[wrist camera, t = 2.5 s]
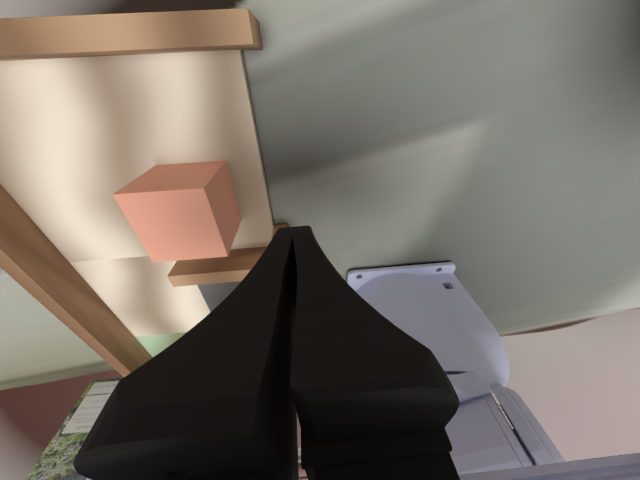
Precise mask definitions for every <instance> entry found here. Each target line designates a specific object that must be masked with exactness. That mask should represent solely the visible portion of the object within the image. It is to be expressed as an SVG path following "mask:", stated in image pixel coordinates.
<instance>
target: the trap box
mask: <svg viewBox="0 0 640 480" xmlns="http://www.w3.org/2000/svg"><path fill="white" fill-rule="evenodd" d="M262 49H263V48H262V41H261V34H260V27H259V21H258V20H257V19H256V18H255V17H254V15H253V14H252V13H251V12H250V10H249V9H248V8H242V9H218V10H195V11H170V12H149V13H148V12H147V13H124V14H98V15H74V16H51V17H27V18H5V19H4V18H3V19H0V267H1V268H2V269H3V270H4V271H5V272H6V273H8V274H9V275H10V276H11V277H12V278H13V279H14V280H15V281H17V282H18V283H19V284H20V285H21V286H22V287H23V288H24V289H26V290H27V291H28V292H29V293H30V294H31V295H32V296H33V297H35V298H36V299H37V300H38V301H39V302H40V303H41V304H42V305H43V306H45V307H46V308H47V309H48V310H49V311H50V312H51V313H52V314H54V315H55V316H56V317H57V318H58V319H59V320H60V321H61V322H63V323H64V324H65V325H66V326H67V327H68V328H69V329H70V330H72V331H73V332H74V333H75V334H76V335H77V336H78V337H79V338H81V339H82V340H83V341H84V342H85V343H86V344H87V345H88V346H90V347H91V348H92V349H93V350H94V351H95V352H96V353H97V354H98V355H100V356H101V357H102V358H103V359H104V360H105V361H106V362H107V363H109V364H110V365H111V366H112V367H113V368H114V369H115V370H116V371H118V372H119V373H120V374H121V375H122V376H123V377H126V376H127V375H129V374H130V373H132V372H133V371H134V370H136V369H137V368H139V367H140V366H142V365H143V364H144V363H146V362H147V361H149V360H150V359H152V358H153V357H154V356H156V355H157V354H159V353H160V352H162V351H163V350H164V349H166V348H167V347H168V346H170V345H171V344H173V343H174V342H175V341H176V340H178V339H179V338H180V337H182V336H183V335H184V334H185V333H187V332H188V331H189V330H190V329H192V328H193V327H194V326H195V325H197V324H198V323H199V322H200V321H201V320H203V319H204V318H205V317H206V316H207V315H208V314H209V313H210V312H211V311H213V310H214V309H215V308H216V307H217V306H218V305H219V304H220V303H221V302H222V301H223V300H224V299H225V298H226V297H227V296H228V295H229V294H230V293H231V292H232V291H233V290H234V289H235V288H236V287H237V286H238V285H239V283H240V282H241V281H242V280H243V279H244V278H245V276H246V275H247V274H248V273H249V271H250V270H251V269H252V267H253V266H254V265H255V264H256V262H257V261H258V260H259V258H260V257H261V255H262V254H263V252H264V251H265V249H266V248H267V246H268V245H269V243H270V241H271V240H272V238H273V236H274V234H275V233H276V231H277V230H278V229H279V228H286V227H288V224H277V225H274V222H273V216H272V211H271V205H270V200H269V195H268V189H267V184H266V178H265V173H264V167H263V162H262V156H261V151H260V146H259V140H258V135H257V129H256V124H255V118H254V113H253V107H252V102H251V97H250V91H249V86H248V80H247V75H246V69H245V64H244V58H243V53H242V50H262ZM225 160H226V163H227V167H228V171H229V174H230V178H231V182H232V185H233V189H234V193H235V196H236V200H237V204H238V207H239V211H240V215H241V218H242V220H241V223H240V225H239V228H238V231H237V233H236V236H235V239H234V241H233V244H232V247H231V249H230V252H229V255H228V257H216V258H203V259H191V260H178V261H166V262H154V263H153V261H152V260H151V258H150V256H149V255H148V253H147V251H146V250H145V248H144V246H143V245H142V243H141V241H140V240H139V238H138V236H137V235H136V233H135V231H134V230H133V228H132V226H131V225H130V223H129V221H128V220H127V218H126V216H125V215H124V213H123V211H122V210H121V208H120V206H119V205H118V203H117V202H116V200H115V198H114V197H113V195H112V194H114V193H115V192H117V191H118V190H120V189H121V188H123V187H124V186H126V185H127V184H129V183H130V182H132V181H133V180H135V179H136V178H138V177H139V176H140V175H142V174H143V173H145V172H146V171H148V170H149V169H151V168H152V167H154V166H155V165H164V164H180V163H195V162H210V161H225Z"/></svg>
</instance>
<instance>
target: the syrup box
mask: <svg viewBox="0 0 640 480" xmlns="http://www.w3.org/2000/svg"><path fill="white" fill-rule="evenodd" d="M121 379H123V378H119V379H108V380H96V381H92V382H91V383H90V384H89V386H88V387H87V389H86V390H85V392H84V393H83V395H82V396H81V398H80V399H79V401H78V402H77V404H76V405H75V407H74V408H73V410H72V411H71V413H70V414H69V415H68V417H67V418H66V420H65V421H64V423H63V424H62V426H61V427H60V429H59V430H58V432H57V433H56V435H55V436H54V438H53V439H52V440H51V442H50V443H49V445H48V446H47V448H46V449H45V451H44V452H43V454H42V455H41V457H40V458H39V460H38V461H37V463H36V464H35V466H34V467H33V469H32V470H31V471H30V473H29V475H28V476H27V477H26V479H25V480H91V479H88V478H86V477H84V476H82V475H80V474H78V473H77V471H76V470H75V468H74V466H73V461H74V459H75V457H76V455H77V453H78V451H79V449H80V448H81V446H82V444H83V442H84V441H85V439H86V437H87V435H88V433H89V432H90V430H91V428H92V426H93V425H94V423H95V421H96V419H97V417H98V416H99V414H100V412H101V410H102V409H103V407H104V405H105V403H106V401H107V400H108V398H109V397H110V395H111V393H112V392H113V390H114V388H115V387H116V385H117V384H118V382H119V381H120V380H121Z"/></svg>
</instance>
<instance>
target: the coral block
mask: <svg viewBox="0 0 640 480" xmlns="http://www.w3.org/2000/svg"><path fill="white" fill-rule="evenodd" d="M112 195H113V197H114V198H115V200H116V202H117V203H118V205H119V206H120V208H121V210H122V211H123V213H124V215H125V216H126V218H127V220H128V221H129V223H130V225H131V226H132V228H133V230H134V231H135V233H136V235H137V236H138V238H139V240H140V241H141V243H142V245H143V246H144V248H145V250H146V251H147V253H148V255H149V256H150V258H151V260H152V261H153V263H154V262H166V261H178V260H191V259H203V258H216V257H228V255H229V252H230V249H231V247H232V244H233V241H234V239H235V236H236V233H237V231H238V228H239V225H240V223H241V220H242V218H241V215H240V211H239V207H238V204H237V200H236V196H235V193H234V189H233V185H232V182H231V178H230V174H229V171H228V167H227V163H226V160H225V161H210V162H195V163H180V164H164V165H155V166H154V167H152V168H151V169H149V170H148V171H146V172H145V173H143V174H142V175H140V176H139V177H138V178H136V179H135V180H133V181H132V182H130V183H129V184H127V185H126V186H124V187H123V188H121V189H120V190H118V191H117V192H115V193H114V194H112Z"/></svg>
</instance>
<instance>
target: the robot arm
mask: <svg viewBox="0 0 640 480" xmlns="http://www.w3.org/2000/svg"><path fill="white" fill-rule="evenodd" d="M455 268H456V266H455V265H454V263H452V262H445V263H433V264H421V265H409V266H397V267H385V268H374V269H362V270H352V271H349V272H348V274H347V282H346V281H345V280H344V279H343V278H342V276H341V275H340V274H339V273H338V272H337V271H336V269H335V268H334V267H333V265H332V264H331V263H330V261H329V260H328V259H327V257H326V256H325V254H324V253H323V251H322V249H321V248H320V246H319V244H318V243H317V241H316V239H315V237H314V235H313V232H312V229H311V227H310V226H299V227H286V228H279V229H278V230H277V231H276V233H275V234H274V236H273V238H272V240H271V241H270V243H269V245H268V246H267V248H266V249H265V251H264V252H263V254H262V255H261V257H260V258H259V260H258V261H257V262H256V264H255V265H254V266H253V267H252V269H251V270H250V271H249V273H248V274H247V275H246V276H245V278H244V279H243V280H242V281H241V282H240V283H239V285H238V286H237V287H236V288H235V289H234V290H233V291H232V292H231V293H230V294H229V295H228V296H227V297H226V298H225V299H224V300H223V301H222V302H221V303H220V304H219V305H218V306H217V307H216V308H215V309H214V310H213V311H211V312H210V313H209V314H208V315H207V316H206V317H205V318H204V319H203V320H201V321H200V322H199V323H198V324H197V325H195V326H194V327H193V328H192V329H190V330H189V331H188V332H187V333H185V334H184V335H183V336H182V337H180V338H179V339H178V340H176V341H175V342H174V343H173V344H171V345H170V346H168V347H167V348H166V349H164V350H163V351H162V352H160V353H159V354H157V355H156V356H154V357H153V358H152V359H150V360H149V361H147V362H146V363H144V364H143V365H142V366H140V367H139V368H137V369H136V370H134V371H133V372H132V373H130V374H129V375H127V376H126V377H124V378H123V379H121V380H120V381H119V382H118V384H117V385H116V387H115V388H114V390H113V392H112V393H111V395H110V397H109V398H108V400H107V401H106V403H105V405H104V407H103V409H102V410H101V412H100V414H99V416H98V417H97V419H96V421H95V423H94V425H93V426H92V428H91V430H90V432H89V433H88V435H87V437H86V439H85V441H84V442H83V444H82V446H81V448H80V449H79V451H78V453H77V455H76V457H75V459H74V461H73V466H74V468H75V470H76V471H77V473H78V474H80V475H82V476H84V477H86V478H88V479H91V480H298V478H299V474H298V445H297V415H296V414H298V419H299V423H300V426H301V465H302V469H305V471H306V474H307V477H308V480H640V453H633V454H625V455H617V456H609V457H600V458H592V459H584V460H577V461H568V462H565V460H564V459H563V457H562V456H561V454H560V453H559V451H558V450H557V448H556V447H555V445H554V444H553V442H552V441H551V439H550V438H549V436H548V435H547V434H546V432H545V431H544V429H543V428H542V426H541V425H540V424H539V422H538V421H537V419H536V418H535V416H534V415H533V414H532V412H531V411H530V409H529V408H528V407H527V405H526V404H525V403H524V401H523V400H522V399H521V397H520V396H519V395H518V394H517V393H516V392H515V391H513V390H511V389H509V388H507V387H505V386H506V384H507V382H508V379H509V373H510V365H509V359H508V355H507V352H506V349H505V346H504V344H503V342H502V339H501V337H500V335H499V334H498V332H497V330H496V329H495V327H494V326H493V325H492V323H491V322H490V321H489V319H488V318H487V317H486V315H485V314H484V313H483V311H482V310H481V309H480V308H479V306H478V305H477V304H476V302H475V301H474V300H473V298H472V297H471V296H470V294H469V293H468V292H467V290H466V289H465V288H464V287H463V285H462V284H461V283H460V281H459V280H458V279H457V277H456V276H455V275H454V274H453V273H454V270H455ZM357 275H359V276H357ZM491 393H494V394H495V396H496V397H497V399H498V400H499V402H500V406H501V408H502V410H503V411H504V413H505V415H506V416H507V418H508V420H509V421H510V423H511V425H512V426H513V428H514V429H512V428H511V426H510V425H509V423H508V421H507V420H506V418H505V416H504V415H503V413H502V411H501V410H500V408H499V406H498V404H497V403H496V401H495V400H494V398H493V396H492V394H491ZM296 411H297V413H296Z"/></svg>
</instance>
